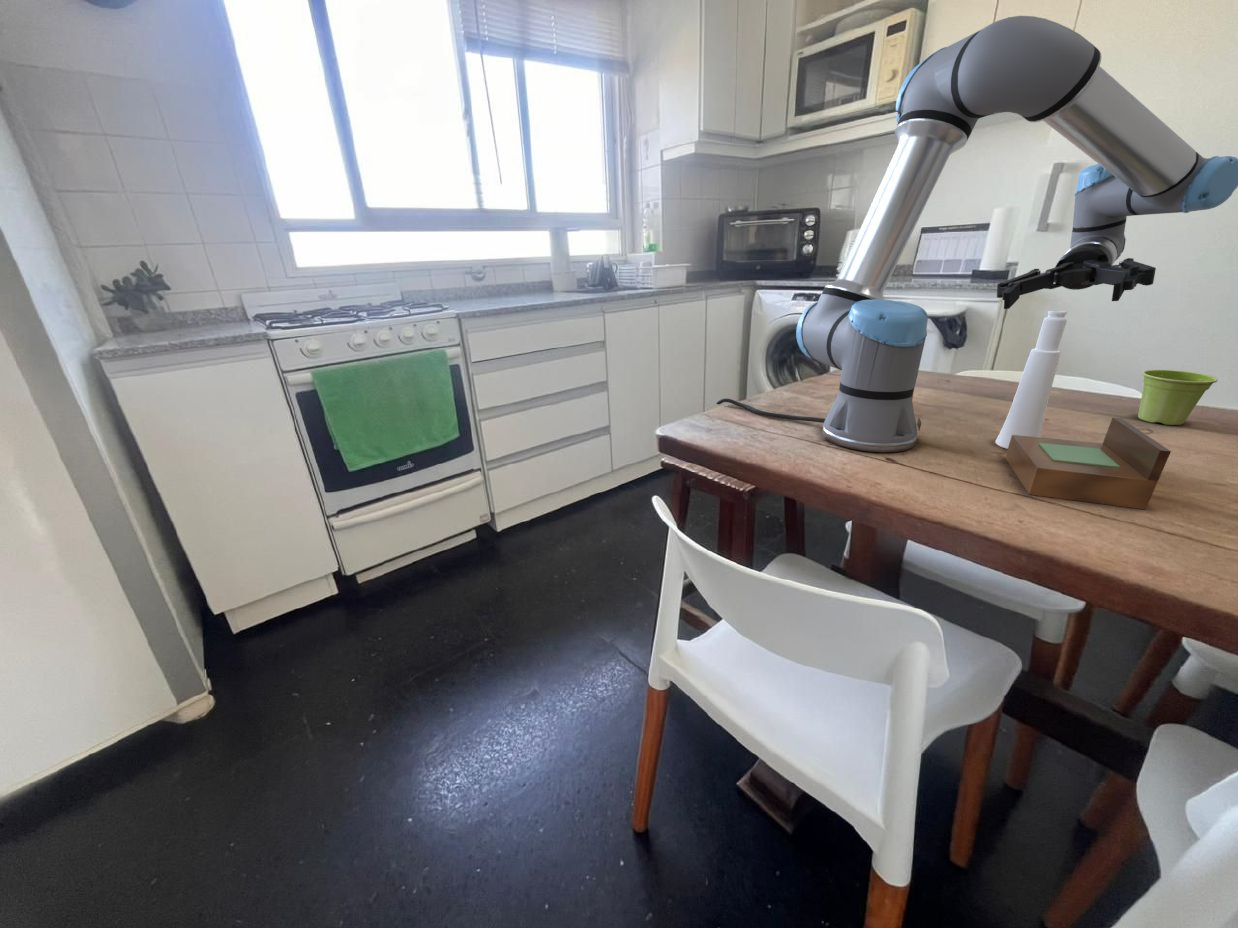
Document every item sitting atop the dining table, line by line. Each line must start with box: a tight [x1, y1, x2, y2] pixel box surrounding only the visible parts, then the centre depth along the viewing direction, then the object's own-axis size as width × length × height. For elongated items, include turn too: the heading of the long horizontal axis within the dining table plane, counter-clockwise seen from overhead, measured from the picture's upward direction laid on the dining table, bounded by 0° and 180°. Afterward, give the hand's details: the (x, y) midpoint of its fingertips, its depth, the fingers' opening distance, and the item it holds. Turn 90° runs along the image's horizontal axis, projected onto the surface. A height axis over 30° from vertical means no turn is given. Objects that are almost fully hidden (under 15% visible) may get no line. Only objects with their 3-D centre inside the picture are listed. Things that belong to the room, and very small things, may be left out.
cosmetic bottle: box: [994, 310, 1068, 450], centre depth 79 cm, size 6×6×22 cm
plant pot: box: [1137, 369, 1219, 426], centre depth 91 cm, size 9×9×9 cm
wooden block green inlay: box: [1004, 416, 1172, 510], centre depth 69 cm, size 12×14×8 cm
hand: (1058, 297), depth 81 cm, fingers open, 13 cm apart
